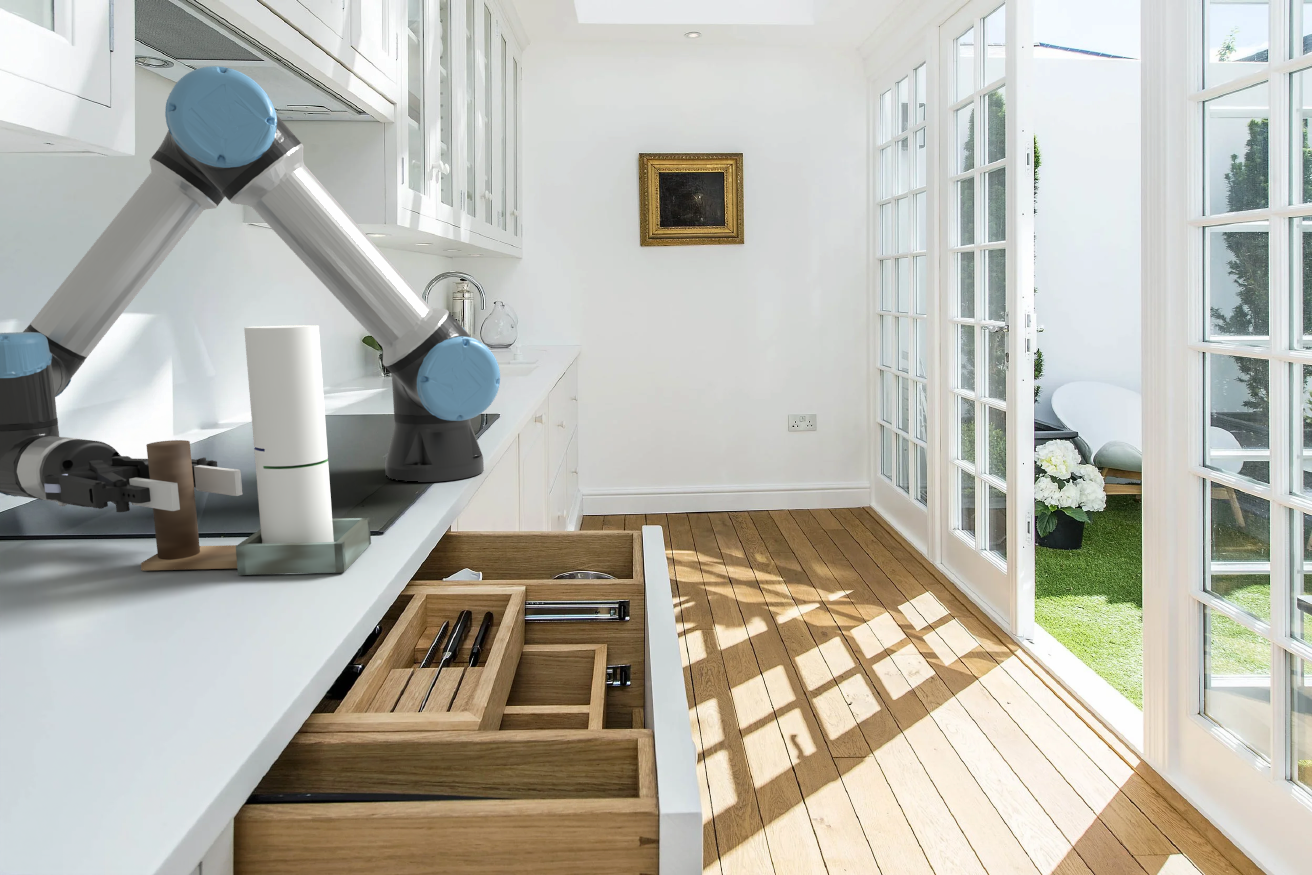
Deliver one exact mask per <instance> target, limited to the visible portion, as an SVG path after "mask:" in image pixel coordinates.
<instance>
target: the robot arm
mask: <svg viewBox="0 0 1312 875" xmlns="http://www.w3.org/2000/svg"><path fill="white" fill-rule="evenodd" d="M164 112H165V113H164V116H165V122H166V126H167V128H168V129H167V133H166V134H165V136H164V139H163V140H162V142H161V144H160V145H159V147H158V149H157V150H156V152H154V154H153V155H152V156H151V157H150V159H149V166H150V173H149V174H148V176H147V177H146V178H145V179H144V180H143V182H142V183H141V184H140V185H139V187H138V188H137V190H135V192H134V193H133V195H132V196H131V197H130V198H129V199H128V200H127V201H126V203H125V204H124V206H123V207H122V208H121V209H120V210H119V212H118V213H117V215H116V216H115V217H114V218H113V219H112V221H111V222H109V224H108V226H107V227H106V228H105V230H103V232H102V233H101V234H100V235H99V237H98V238H96V240H95V242H94V243H93V244H92V246H91V247H90V248H89V250H87V252H86V253H85V254H84V256H83V257H82V258H81V259H80V260H79V262H78V263H77V264H76V266H74V268H73V270H71V271H70V273H69V274H68V275H67V277H66V278H65V279H64V280H63V281H62V283H61V284H60V285H59V287H58V288H57V289H56V291H54V293H52V296H50V298H49V299H48V301H47V302H46V303H45V304H44V305H43V307H42V308H41V309H40V310H39V311H38V313H36V315H35V316H34V317H33V318H32V321H31V322H30V323H29V325H28V326H27V327H25V329H24V330H23V331H22V332H21V331H20V332H0V494H2V495H5V496H11V497H20V498H21V497H22V498H28V499H29V498H30V499H36V500H37V499H38V500H41V501H42V500H43V501H50V502H54V503H57V504H58V506H60V507H66V506H67V505H71V506H76V507H82V508H83V507H84V508H94V509H98V510H101V509H104V508H108V506H109V503H110V502H111V503H112V504H113V505H115V510H116V513H126V512H129V511H130V510H131V508H130V503H131V506H139V507H143V508H145V507H146V508H150V509H151V508H152V509H153V508H156V509H162V510H169V511H176V510H180V504H179V494H178V484H177V483H173V482H166V481H158V480H151V479H150V475H149V465H148V458H133V457H130V456H127V455H125V456H124V455H121V454H120V453H119V452H118V451H117V449H115V448H114V447H113V446H111V445H110V444H108V443H106V442H103V441H101V440H100V441H99V440H93V439H92V440H91V439H83V438H82V439H81V438H78V437H77V438H76V437H66V436H60V431H59V419H58V418H59V417H58V415H57V414H58V413H57V405H56V403H57V402H56V398H57V397H58V396H60V395H61V394H62V393H63V392H64V391H65V390H66V389H67V388H68V386H69V385H70V384H71V381H72V378H73V377H74V376H75V374H76V373H77V371H78V370H79V369H80V368H81V367H82V365H83V364H84V363H85V361H86V359H87V358H88V357H89V356H90V355H91V353H92V352H93V351H94V349H96V347H97V346H98V344H99V343H100V342H101V341H102V339H103V338H104V337H105V335H106V334H107V333H108V331H109V330H110V329H111V328H112V327H113V326H114V324H115V323H116V322H117V321H118V319H119V318H120V316H122V314H123V313H124V311H125V310H126V308H128V307H129V305H130V304H131V303H132V302H133V300H134V299H135V297H136V296H137V295H138V294H139V293H140V291H141V290H142V289H143V288H144V286H145V285H146V284H147V282H148V281H149V280H150V278H152V276H153V275H154V274H155V272H156V271H157V270H158V269H159V268H160V266H161V265H162V263H163V262H164V261H166V258H168V256H169V255H170V253H171V252H172V251H173V250H174V248H175V247H176V246H177V245H178V243H179V242H180V241H181V239H182V238H184V236H185V234H186V233H187V232H188V231H189V229H190V228H191V227H192V225H193V224H194V223H195V222H196V221H197V219H198V218H199V217H200V216H201V214H202V212H203V211H205V210H212V209H217V207H219V205H220V204H221V203H222V201H223V200H224V199H225V198H226V199H227V200H228V201H229V202H230V203H231V204H234V205H235V204H236V205H241V206H242V205H243V206H247V207H250V208H252V210H254V211H255V212H256V213H257V215H259V217H260V218H261V219H262V220H263V221H264V222H265V223H266V224H267V225H268V226H269V227H270V228H271V229H272V231H273V232H275V234H276V235H277V236H278V237H279V238H280V239H281V240H282V241H283V242H284V243H285V245H287V247H288V248H289V249H290V250H291V251H292V252H293V253H294V254H295V255H296V256H297V258H298V259H299V260H301V261H302V262H303V263H304V265H305V266H306V267H307V268H308V269H309V271H310V272H312V273H313V275H315V277H316V278H317V279H318V280H319V282H321V283H322V284H323V285H324V286H325V287H326V288H327V289H328V291H330V293H331V294H332V295H333V296H334V297H335V298H336V299H337V300H338V301H339V302H340V303H341V305H343V307H344V308H345V309H346V310H347V311H348V312H349V313H350V314H351V315H352V317H354V318H355V320H357V322H358V323H359V324H360V325H361V326H362V327H363V328H364V329H365V331H366V332H368V333H369V335H371V337H373V339H374V340H375V341H376V342H377V343H378V344H379V345H380V346H381V348H382V365H383V366H384V367H385V368H386V369H387V371H389V372H390V373H391V386H392V399H393V416H394V417H393V418H394V419H393V420H394V422H393V423H394V429H393V433H392V436H391V439H390V442H389V445H388V446H389V447H388V449H387V450H388V451H387V454H386V458H385V462H384V463H385V464H384V466H385V467H384V469H385V476H386V475H387V476H388V477H389V478H388V477H387V478H388V479H390V478H393V479H397V480H396V481H398V480H405V481H404V482H407V481H418V482H417V483H436V482H448V481H456V480H462V479H466V478H471V477H475V476H477V475H479V474H482V473H483V472H484V471H485V470H484V469H485V466H484V456H483V453H482V450H481V448H480V445H479V442H478V440H477V437H476V435H475V431H474V429H473V427H472V422H471V419H473V418H476V417H478V416H480V415H481V414H482V413H483V412H485V411H486V410H487V409H489V407H490V406H491V405H492V403H493V402H494V401H495V399H496V396H497V394H498V392H499V388H500V386H501V385H500V384H501V372H500V371H501V370H500V366H499V364H498V363H499V362H498V360H497V359H496V356H495V355H494V353H493V352H492V350H490V348H489V347H488V346H487V345H486V344H484V343H482V341H480V340H478V339H476V338H475V337H472V336H471V335H470V334H469V333H468V332H467V331H466V329H465V327H463V326H462V325H461V324H460V323H459V321H458V320H457V319H456V318H455V317H454V315H452V313H451V312H450V311H449V310H448V309H447V308H438V307H436V308H435V307H433V306H430V305H429V304H428V303H427V301H425V299H424V298H423V297H422V296H421V295H420V294H419V292H418V291H417V290H416V289H415V288H414V287H413V286H412V284H410V282H409V281H408V280H407V279H406V278H405V276H403V275H402V273H400V270H398V269H397V268H396V267H395V265H394V264H393V263H392V262H391V261H390V260H389V259H388V258H387V256H386V255H385V254H384V253H383V252H382V251H381V249H379V247H378V246H377V245H376V244H375V243H374V242H373V241H372V239H371V238H370V237H369V236H368V235H367V234H366V233H365V232H364V230H363V229H362V228H361V227H360V226H359V225H358V224H357V222H356V221H355V220H354V219H353V218H352V217H351V216H350V215H349V214H348V212H347V211H346V210H345V209H344V207H343V206H342V205H341V204H340V203H339V202H338V201H337V200H336V199H335V198H334V196H333V195H332V194H331V193H330V192H329V190H328V189H327V188H326V187H325V186H324V185H323V183H321V182H320V180H319V179H318V178H317V177H316V176H315V174H313V173H312V171H310V169H309V168H308V167H307V166H306V164H305V161H304V148H305V146H304V145H303V143H302V142H301V141H300V140H299V139H298V137H297V136H296V135H295V134H294V133H293V131H292V130H291V129H289V127H288V126H287V125H286V124H285V123H284V121H283V120H282V119H281V118H280V117H279V116H278V115H277V112H276V109H275V107H274V104H273V101H272V100H271V99H270V96H269V95H268V94H267V92H266V91H265V90H264V89H263V88H262V87H261V85H259V83H257V81H255V80H254V79H253V78H251V77H250V76H249V75H246V74H245V73H243V72H241V71H239V70H236V69H233V68H229V67H225V66H218V65H215V66H214V65H211V66H204V67H199V68H196V69H193V70H191V71H189V72H188V73H186V74H185V75H183V76H182V77H181V78H179V80H178V81H177V82H176V84H174V86H173V87H172V89H171V92H170V93H169V94H168V97H167V99H166V102H165V111H164ZM191 461H192V471H193V482H194V488H195V491H196V492H205V493H212V494H218V495H219V494H220V495H227V496H233V497H234V496H235V497H238V496H243V484H242V474H241V472H242V470H241V469H237V468H227V467H219V466H218V461H217V460H208V459H207V457H201V458H198V459H197V458H196V459H193V458H191ZM393 479H392V480H393Z"/></svg>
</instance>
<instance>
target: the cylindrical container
mask: <svg viewBox="0 0 1312 875" xmlns="http://www.w3.org/2000/svg"><path fill="white" fill-rule="evenodd" d="M243 329H244V330H243V331H244V338H245V339H244V340H245V341H244V342H245V353H246V366H247V380H248V390H249V391H248V392H249V402H250V416H251V423H252V425H251V426H252V428H251V429H252V437H253V438H252V439H253V447H254V448H253V450H254V462H255V474H256V476H255V477H256V487H257V499H258V501H257V502H258V510H259V523H260V529H261V537H262V544H263V543H307V542H334V537H333V523H332V519H333V512H332V498H331V496H332V495H331V484H330V483H331V482H330V469H329V467H330V466H329V459H328V458H329V455H328V454H329V453H328V438H327V424H326V423H327V422H326V410H325V408H326V407H325V394H324V379H323V367H322V366H323V365H322V354H321V353H322V352H321V337H320V325H314V324H313V325H312V324H309V325H308V324H305V325H303V324H299V325H294V324H291V325H290V324H288V325H287V324H286V325H285V324H283V325H260V326H259V325H257V326H256V325H255V326H245V327H244V328H243Z"/></svg>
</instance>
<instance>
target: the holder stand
mask: <svg viewBox="0 0 1312 875" xmlns="http://www.w3.org/2000/svg"><path fill="white" fill-rule="evenodd" d="M190 442H191V441H189V440H185V439H184V440H183V439H182V440H181V439H180V440H177V439H175V440H173V439H172V440H162V441H161V440H160V441H155V442H150V443H147V444H146V454H147V459H148V465H149V475H150V479H151V480H158V481H166V482H173V483H177V484H178V494H179V504H180V510H176V511H169V510H162V509H156V508H152V512H153V513H152V515H153V520H154V521H153V523H154V531H155V542H156V551H157V552H156V554H154V555H151V557H148V558H147V559H145V560H143V561H142V562H141V563H140V568H141V571H173V570H175V571H176V570H181V571H182V570H211V569H213V570H214V569H215V570H216V569H217V570H219V569H237V575H238V576H239V575H241V576H243V575H244V576H245V575H246V576H247V575H278V574H279V575H280V574H281V575H283V574H289V575H291V574H292V575H293V574H325V573H332V574H333V573H345V572H346V571H347V570H348V568H349V567H350V566H351V565H352V564H354V562H356V561H357V559H358V558H359V557H360V556H361V554H362V553H364V552H365V551H366V549H368V547H370V545H371V544H372V536H371V520H370V517H357V518H356V517H353V518H352V517H351V518H349V517H347V518H332V523H333V537H334V542H307V543H263V544H262V537H261V528H260V529H259V530H256V532H254V533H253V534H252V535H250V536H248V537H247V538H246V539H244V540H243V541H241V542H239V543H238V544H235V545H234V544H233V545H231V544H228V545H225V544H224V545H200V536H199V527H198V515H197V505H196V494H195V487H194V482H193V471H192V461H191V459H192V453H191V443H190Z"/></svg>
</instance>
